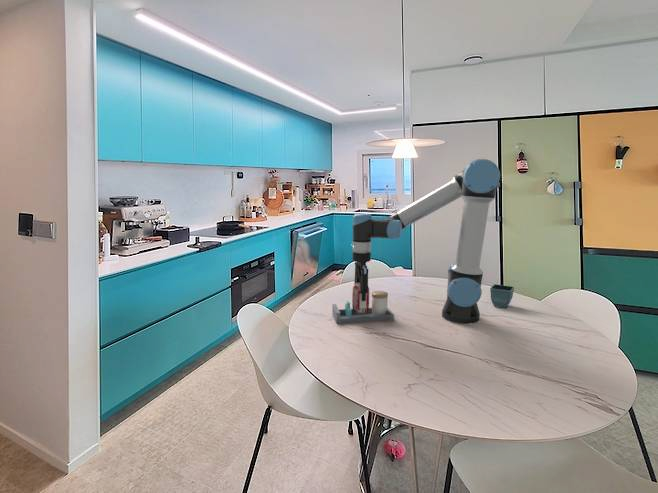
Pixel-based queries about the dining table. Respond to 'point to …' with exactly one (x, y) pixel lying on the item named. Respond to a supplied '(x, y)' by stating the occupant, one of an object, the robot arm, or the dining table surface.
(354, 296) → the soda can
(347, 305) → the pusher
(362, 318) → the lane
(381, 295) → the jar
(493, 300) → the flower pot
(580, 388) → the dining table surface
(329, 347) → the dining table surface
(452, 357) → the dining table surface
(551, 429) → the dining table surface
